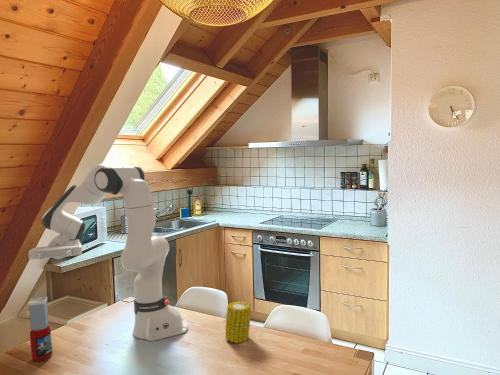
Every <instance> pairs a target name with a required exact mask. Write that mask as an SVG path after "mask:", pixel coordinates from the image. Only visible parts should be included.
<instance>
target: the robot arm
mask: <svg viewBox="0 0 500 375" xmlns="http://www.w3.org/2000/svg"><path fill="white" fill-rule="evenodd" d="M108 194H112V195H115V196H116V195H118V194H120V195H122V196H123V199H124V207H125V212H126V214H125V215H126V221H127V235H126V240H125V241H126V242H125V245H124V248H123V250H122V252H121V253H120V263H121V266H122V267H123V268H124V270H126V271H128V272H134V273H135V272H137V274H136V276H135V278H134V281H133V289H134V292H133V293H134V300H133V312H134V326H133V330H132V335H133V336H134V338H137V339H141V340H146V341H148V342H153V341H158V340H161V339H165V338H169V337H175V336H177V335H182V334H185V333H187V331H188V329H189V328H188V322H187V321H186V320H185V319H184V318H182V315H181V313H180V311H179V310H178V309H177V308H176V307H173V306H172V305H170V300H169V299H168V298H167V297H166V295H163V284H162V279H163V271H164V267H165V262H166V257H167V255H168V253H169V251H170V244H169V242H168V240H167V239H166V238H165V237H163V236H160V235H155V236H154V235H153V231H154V228H155V226H156V213H155V206H154V200H153V195H152V192H151V188H150V185H149V183H148V182H147V181H145V171H144V170H143V169H142V168H141V167H140V166H139V165H135V164H114V165H108V164H106V163H98V164H96V165H94V167H93V168H92V169H91V170H90V171H89V172H88V173H87V175H86V176H85V178H84V180H83V181H82V182H81V183H80V184H73V185H71V186H70V187H69V188H68V189H67V190H66V191H65V192H63V194H62V195H61V196H60V197H59V198H58V200H57V201H56V202H55V203H54V204H53V205H52V206H51V207H50V208H49V209H48V210H46V211H45V212H44V214H43V215H42V217H41V224H42V226H43V227H44V229H47V230H50V231H53V232H54V233H57V235H55V236H54V238H52V240H51V241H50V242H48V245H47V246H38V247H37V246H36V247H33V248H31V249H30V250H29V251H28V259H29V260H43V259H49V258H50V259H51V258H52V259H55V260H62V259H64V258H66V257H67V258H68V257H72V256H73V257H74V256H75V257H76V256H81V255H82V254H83V248H82V242H80V240H81V239H82V237H83V235H84V233H85V230H86V225H85V221H84V220H82V219H80V218H78V217H76V216H75V215H74V216H73V215H72V214H69V213H67V212H66V211H64V210H63V209H64V208H65V207H66V206H67V205H68V204H70V203H77V204H78V203H80V204H84V205H97V204H99V203H101V202H102V201H103V200H104V199H105V197H107V195H108Z"/></svg>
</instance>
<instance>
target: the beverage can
mask: <svg viewBox="0 0 500 375" xmlns="http://www.w3.org/2000/svg"><path fill="white" fill-rule="evenodd" d="M51 331H52V330H51V327H50V325H49V324H48V325H47V328H44V329H36V330H31V329H30V331H29V338H30V340H29V341H30V351H31V352H30V353H31V359H32V360H34V361H36V362H41V361H44V360H47V359H49V358H50V357H51V356H52V355H53V346H52V333H51Z"/></svg>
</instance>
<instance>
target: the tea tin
mask: <svg viewBox="0 0 500 375" xmlns="http://www.w3.org/2000/svg"><path fill="white" fill-rule="evenodd" d="M28 310H29V322H30V331H31V330H36V329H44V328H47V325H48V326H49V323H50V321H49V310H48V296H41V297H33V298H31V299H30V300H29V301H28Z"/></svg>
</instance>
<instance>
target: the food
mask: <svg viewBox="0 0 500 375" xmlns="http://www.w3.org/2000/svg"><path fill="white" fill-rule="evenodd" d="M226 308H227V309H226V316H225V317H226V319H225V320H226V321H225V333H224V334H225V339H226V340H228V341H230V342H231V343H235V344H241V343H245V342H246V341H248V339H249V336H250V327H251V325H250V324H251V314H252V312H251V311H252V309H251V308H252V307H251V304H250V303H249V302H247V301H240V300H239V301H232V302H229V303H228V305H227V306H226Z"/></svg>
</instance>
